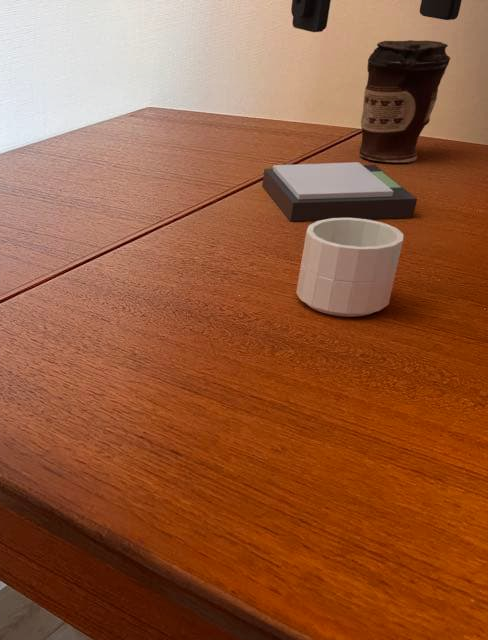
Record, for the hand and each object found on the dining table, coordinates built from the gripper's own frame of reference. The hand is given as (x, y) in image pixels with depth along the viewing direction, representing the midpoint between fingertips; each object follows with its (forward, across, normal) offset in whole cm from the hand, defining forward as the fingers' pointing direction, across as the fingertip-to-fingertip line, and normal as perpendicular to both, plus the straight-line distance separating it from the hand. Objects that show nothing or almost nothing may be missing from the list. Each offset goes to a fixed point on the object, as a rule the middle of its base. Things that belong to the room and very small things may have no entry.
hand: (373, 23), depth 59 cm
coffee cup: (+22, +30, +36) cm, 52 cm away
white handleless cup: (+22, +2, +1) cm, 22 cm away
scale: (+22, +16, +24) cm, 36 cm away
